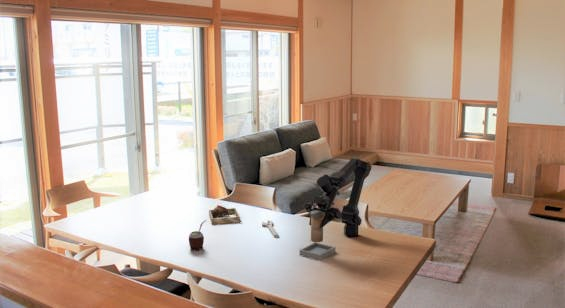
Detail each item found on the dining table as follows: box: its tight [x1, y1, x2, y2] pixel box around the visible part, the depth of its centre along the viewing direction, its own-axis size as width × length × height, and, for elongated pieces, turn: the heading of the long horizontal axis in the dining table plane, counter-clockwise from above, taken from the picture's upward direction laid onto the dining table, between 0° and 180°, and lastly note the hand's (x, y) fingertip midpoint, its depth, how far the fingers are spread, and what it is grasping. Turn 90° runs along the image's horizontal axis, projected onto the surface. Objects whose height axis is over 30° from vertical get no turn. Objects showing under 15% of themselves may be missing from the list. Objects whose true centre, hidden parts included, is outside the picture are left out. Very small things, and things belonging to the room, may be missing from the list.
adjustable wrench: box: [261, 220, 280, 239], centre depth 280 cm, size 25×6×2 cm, turn 9°
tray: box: [299, 242, 336, 261], centre depth 247 cm, size 13×12×2 cm
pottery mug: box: [212, 204, 230, 218], centre depth 301 cm, size 12×10×8 cm
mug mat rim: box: [208, 207, 241, 225], centre depth 301 cm, size 16×18×3 cm
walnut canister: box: [309, 210, 325, 243], centre depth 245 cm, size 6×6×14 cm
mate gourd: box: [188, 219, 207, 252], centre depth 253 cm, size 8×8×15 cm
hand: (315, 226), depth 244 cm, fingers closed on walnut canister, 6 cm apart
